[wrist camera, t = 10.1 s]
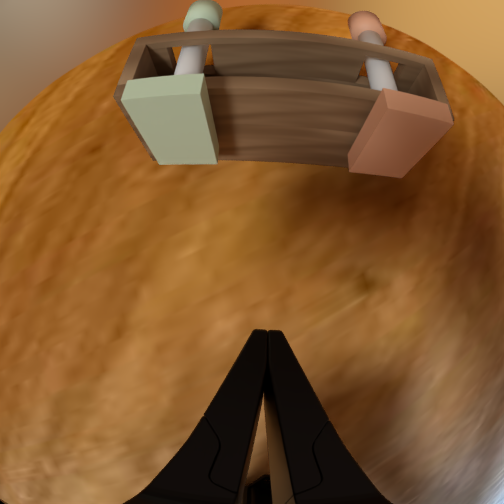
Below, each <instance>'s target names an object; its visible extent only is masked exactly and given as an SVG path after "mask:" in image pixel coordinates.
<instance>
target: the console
mask: <svg viewBox="0 0 504 504" xmlns="http://www.w3.org/2000/svg"><path fill="white" fill-rule="evenodd" d="M206 44H211V48H212V54H213V61H214V65H206V66H204V70H203V74H204V76H205V80H206V85H207V90H208V95H209V100H210V105H211V110H212V114H213V119H214V124H215V129H216V134H217V138H218V143H219V154H218V160H241V161H268V162H286V163H301V164H315V165H326V166H337V167H347V168H349V165H348V153H349V151H350V149H351V147H352V145H353V143H354V142H355V140H356V138H357V136H358V134H359V132H360V130H361V129H362V127H363V125H364V123H365V121H366V119H367V117H368V115H369V114H370V112H371V110H372V108H373V106H374V104H375V102H376V100H377V98H378V96H379V94H380V93H381V91H379V90H374V89H371V88H370V84H369V79H368V77H365V76H359V72H360V70H361V67H362V65H363V62H364V59H365V57H366V56H369V57H374V58H379V59H383V60H387V61H392V62H396V63H399V64H398V66H397V68H396V70H395V72H394V74H393V76H394V79H395V83H396V86H397V90H398V91H400V92H405V93H409V94H413V95H417V96H421V97H425V98H428V99H432V100H435V101H439V102H442V103H446V104H448V107H449V110H450V113H451V116H452V119H453V121H454V117H453V114H452V111H451V108H450V105H449V102H448V99H447V96H446V93H445V91H444V88H443V85H442V83H441V80H440V78H439V75H438V73H437V70H436V68H435V65H434V63H433V61H432V59H429V58H426V57H423V56H420V55H416V54H413V53H409V52H406V51H402V50H398V49H394V48H390V47H386V46H382V45H377V44H373V43H368V42H363V41H358V40H352V39H347V38H341V37H334V36H327V35H320V34H311V33H301V32H290V31H274V30H207V31H192V32H180V33H171V34H162V35H155V36H148V37H141V38H137V39H136V42H135V44H134V46H133V48H132V51H131V53H130V55H129V58H128V60H127V62H126V65H125V67H124V70H123V72H122V75H121V77H120V80H119V82H118V85H117V88H116V90H115V93H114V96H113V97H114V99H115V100H116V102H117V104H118V105H119V107H120V109H121V110H122V112H123V113H124V115H125V117H126V118H127V120H128V122H129V123H130V125H131V126H132V128H133V130H134V131H135V133H136V134H137V136H138V138H139V139H140V141H141V142H142V144H143V146H144V147H145V149H146V150H147V152H148V153H149V155H150V157H151V158H152V160H153V161H157V160H156V158H155V157H154V155H153V153H152V152H151V150H150V149H149V147H148V145H147V144H146V142H145V140H144V139H143V137H142V135H141V134H140V132H139V130H138V129H137V127H136V125H135V124H134V122H133V120H132V119H131V117H130V115H129V114H128V112H127V110H126V109H125V107H124V105H123V103H122V102H121V98H122V95H123V92H124V89H125V86H126V83H127V81H128V80H134V79H142V78H150V77H160V76H171V75H174V73H175V69H176V66H177V63H176V60H175V57H174V53H173V50H172V47H178V46H190V45H206Z"/></svg>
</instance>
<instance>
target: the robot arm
mask: <svg viewBox="0 0 504 504" xmlns="http://www.w3.org/2000/svg"><path fill="white" fill-rule="evenodd" d="M263 393H264V410H265V422H266V433H267V445H268V456H269V468H270V475H263V476H262V477H260V478H259V479H257V480H256V481H254V482H253V483H251V484H250V485H248V486H245V483H246V479H247V474H248V469H249V465H250V460H251V455H252V451H253V446H254V441H255V436H256V431H257V426H258V421H259V416H260V411H261V406H262V400H263ZM328 420H329V418H328V416H327V414H326V412H325V410H324V408H323V407H322V405H321V403H320V401H319V399H318V397H317V396H316V394H315V392H314V390H313V388H312V386H311V384H310V383H309V381H308V379H307V377H306V375H305V373H304V371H303V369H302V368H301V366H300V364H299V362H298V360H297V358H296V356H295V355H294V353H293V351H292V349H291V347H290V345H289V343H288V341H287V340H286V338H285V336H284V334H283V332H282V331H280V330H269V331H268V332H267V330H263V329H254V330H253V331H252V333H251V335H250V336H249V338H248V340H247V342H246V343H245V345H244V347H243V349H242V350H241V352H240V354H239V356H238V357H237V359H236V361H235V362H234V364H233V366H232V368H231V369H230V371H229V373H228V374H227V376H226V378H225V380H224V381H223V383H222V385H221V386H220V388H219V390H218V391H217V393H216V395H215V396H214V398H213V400H212V401H211V403H210V405H209V406H208V408H207V410H206V411H205V413H204V416H202V418H201V419H200V421H199V423H198V424H197V426H196V427H195V429H194V430H193V432H192V433H191V435H190V436H189V438H188V439H187V441H186V442H185V443H184V444H183V446H182V447H181V448H180V449H179V451H178V452H177V453H176V454H175V456H174V457H173V458H172V459H171V460H170V461H169V462H168V464H167V465H166V466H165V467H164V468H163V469H162V470H161V472H160V473H159V474H158V475H157V476H156V477H155V478H154V479H153V480H152V481H151V483H150V484H149V485H148V486H147V487H145V488H144V489H143V490H142V491H141V492H140V493H139V494H137V495H136V496H134V497H133V498H131V499H130V500H128V501H126V502H125V503H123V504H393V503H391V502H390V501H389V500H387V499H386V498H385V497H384V496H383V495H382V494H381V493H380V492H379V491H378V490H377V488H376V487H375V486H374V485H373V483H372V482H371V481H370V479H369V478H368V477H367V476H366V474H365V473H364V472H363V470H362V469H361V468H360V466H359V465H358V464H357V462H356V461H355V460H354V458H353V457H352V456H351V454H350V453H349V451H348V450H347V448H346V447H345V445H344V444H343V442H342V441H341V439H340V437H339V435H338V434H337V432H336V430H335V429H334V427H333V425H332V423H331V421H328ZM265 479H269V481H268V482H266V481H264V480H265ZM0 504H7V503H6V502H4V501H3V500H1V499H0Z"/></svg>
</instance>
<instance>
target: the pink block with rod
mask: <svg viewBox="0 0 504 504" xmlns="http://www.w3.org/2000/svg"><path fill="white" fill-rule="evenodd" d="M348 26H349V29H350V33H351V36H352V40H358V41H363V42H368V43H373V44H377V45H382V46H384V44H385V43H386V35H385V32H384V30H383V27H382V25H381V22H380V20H379V18H378V17H377V16H376V15H375V14H373V13H371V12H368V11H359V12H355V13H354V14H352V15H351V16H350V17H349V19H348ZM364 63H365V67H366V71H367V75H368V79H369V84H370V88H371V89H374V90H379V91H381V93H380V94H379V96H378V98H377V100H376V102H375V104H374V106H373V108H372V110H371V112H370V114H369V115H368V117H367V119H366V121H365V123H364V125H363V127H362V129H361V130H360V132H359V134H358V136H357V138H356V140H355V142H354V143H353V145H352V147H351V149H350V151H349V153H348V165H349V172H355V173H364V174H372V175H380V176H388V177H396V178H402V177H403V176H404V175H405V174H406V173H407V172H408V171H409V170H410V169H411V168H412V167H413V166H414V165H415V164H416V163H417V162H418V161H419V160H420V159H421V158H422V157H423V156H424V155H425V154H426V153H427V152H428V151H429V150H430V149H431V148H432V147H433V146H434V145H435V144H436V143H437V142H438V141H439V140H440V139H441V137H442V136H443V135H444V134H445V133H446V132H447V131H448V130H449V129H450V128H451V127H452V126H453V125H454V123H453V119H452V116H451V113H450V110H449V107H448V104H446V103H442V102H439V101H435V100H432V99H428V98H425V97H421V96H417V95H413V94H409V93H405V92H400V91H398V90H397V86H396V83H395V79H394V76H393V73H392V69H391V66H390V63H389V61H387V60H383V59H379V58H374V57H369V56H366V57H365V59H364Z"/></svg>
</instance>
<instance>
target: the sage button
mask: <svg viewBox="0 0 504 504" xmlns="http://www.w3.org/2000/svg"><path fill="white" fill-rule="evenodd" d="M221 17H222V8H221V6H220V5H219V4H218V3H216V2H214V1H212V0H198V1H196V2H194V3H193V4H192V5H191V6H190V8H189V10H188V13H187V15H186V18H185V21H184V24H183V28H184V31H185V32H192V31H207V30H219V26H220V22H221ZM208 47H209V44H206V45H190V46H182V49H181V52H180V55H179V59H178V62H177V66H176V69H175V73H174V75H171V76H160V77H150V78H142V79H134V80H128V81H127V83H126V86H125V89H124V92H123V95H122V98H121V102H122V103H123V105H124V107H125V109H126V110H127V112H128V114H129V115H130V117H131V119H132V120H133V122H134V124H135V125H136V127H137V129H138V130H139V132H140V134H141V135H142V137H143V139H144V140H145V142H146V144H147V145H148V147H149V149H150V150H151V152H152V153H153V155H154V157H155V158H156V160H157V162H158V163H159V165H164V164H217V163H218V154H219V143H218V138H217V134H216V129H215V124H214V119H213V114H212V110H211V105H210V100H209V95H208V90H207V85H206V80H205V76H204V74H203V70H204V65H205V61H206V56H207V52H208Z"/></svg>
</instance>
